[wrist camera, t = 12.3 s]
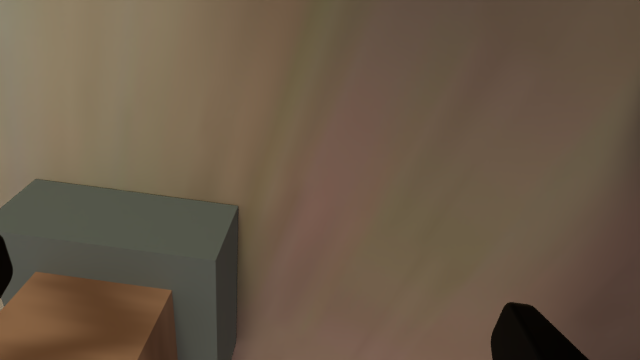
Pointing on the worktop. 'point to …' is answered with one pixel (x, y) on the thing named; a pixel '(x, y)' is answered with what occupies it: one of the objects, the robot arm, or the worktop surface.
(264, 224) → the worktop surface
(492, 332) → the robot arm
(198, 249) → the slate block
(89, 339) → the terracotta cube
